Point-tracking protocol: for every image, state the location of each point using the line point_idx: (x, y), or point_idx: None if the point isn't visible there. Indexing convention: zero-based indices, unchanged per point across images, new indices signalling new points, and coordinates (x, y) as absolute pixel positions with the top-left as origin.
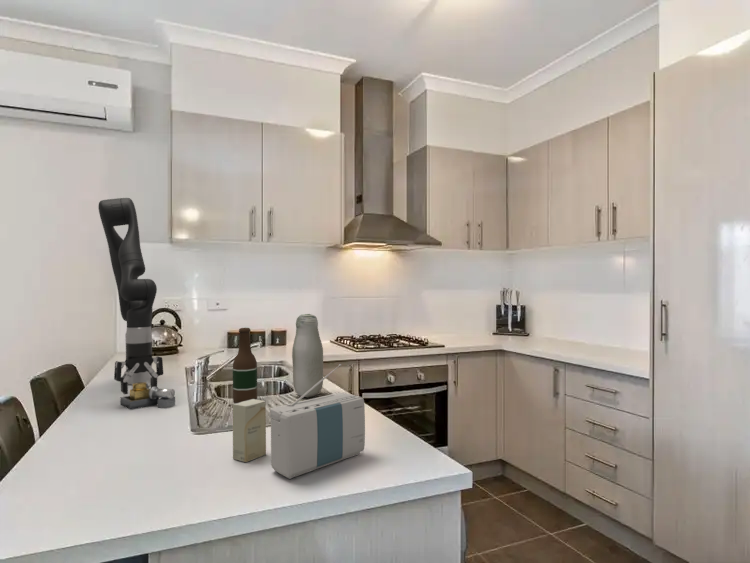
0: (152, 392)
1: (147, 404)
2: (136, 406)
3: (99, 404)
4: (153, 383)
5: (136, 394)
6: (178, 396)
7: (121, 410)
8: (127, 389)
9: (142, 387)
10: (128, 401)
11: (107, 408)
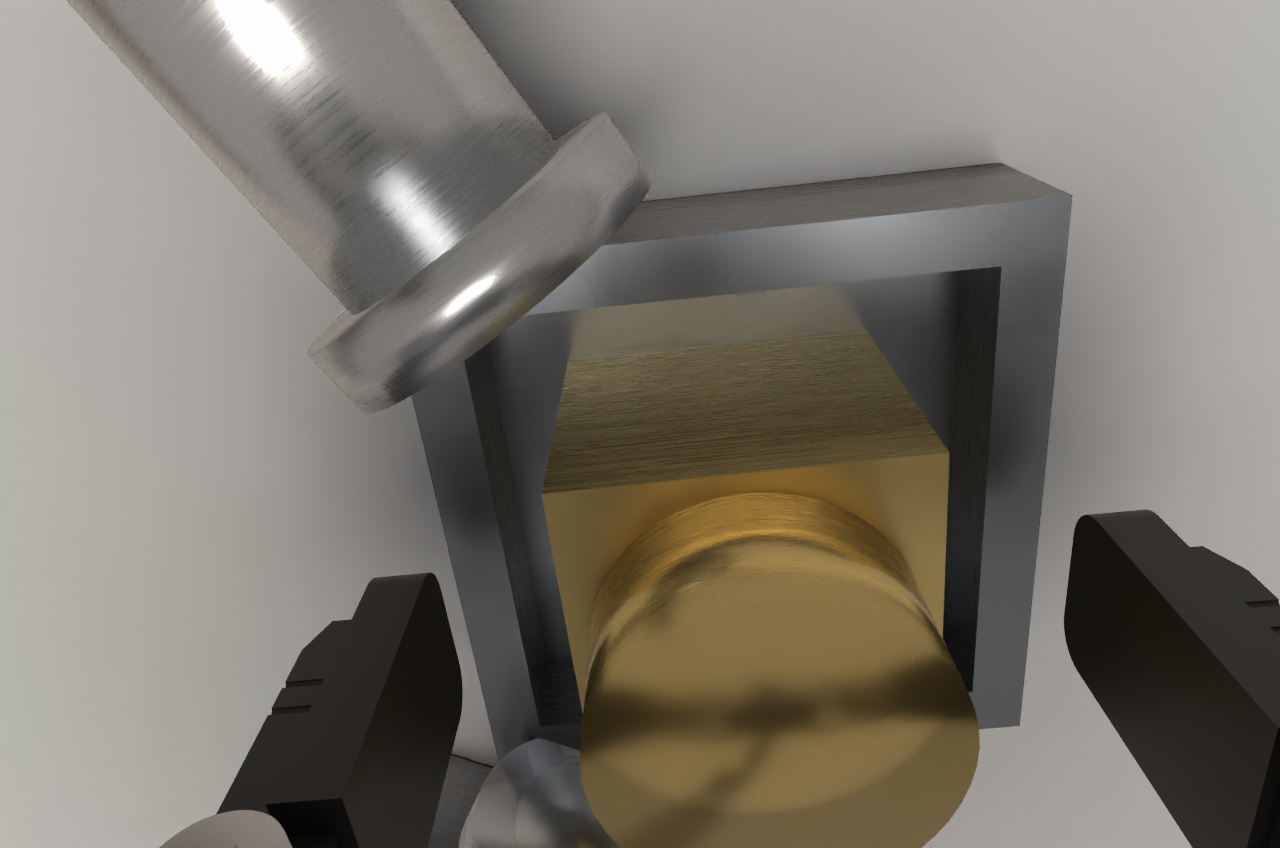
0: (540, 150)
1: (653, 207)
2: (886, 181)
3: (1163, 828)
4: (384, 671)
5: (887, 418)
6: (9, 593)
7: (1140, 222)
8: (1144, 571)
9: (740, 539)
10: (1053, 311)
11: (1218, 536)
